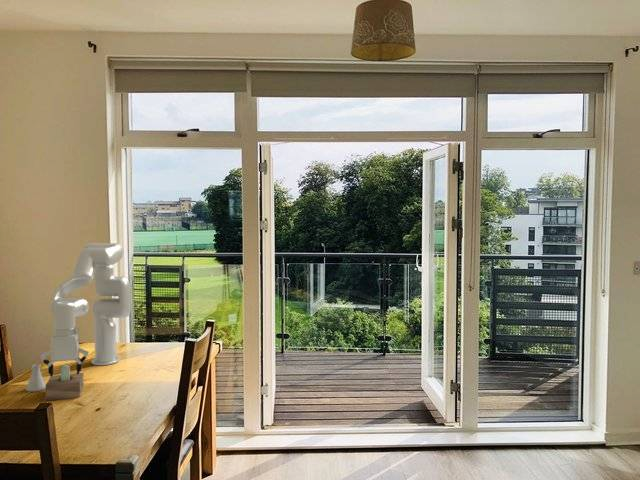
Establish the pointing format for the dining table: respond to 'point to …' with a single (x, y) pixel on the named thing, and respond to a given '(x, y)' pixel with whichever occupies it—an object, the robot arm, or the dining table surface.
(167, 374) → the dining table surface
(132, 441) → the dining table surface
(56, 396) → the socket block
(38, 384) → the flask
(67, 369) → the peg
